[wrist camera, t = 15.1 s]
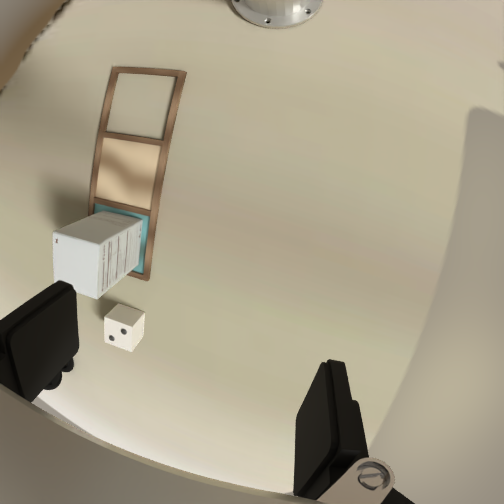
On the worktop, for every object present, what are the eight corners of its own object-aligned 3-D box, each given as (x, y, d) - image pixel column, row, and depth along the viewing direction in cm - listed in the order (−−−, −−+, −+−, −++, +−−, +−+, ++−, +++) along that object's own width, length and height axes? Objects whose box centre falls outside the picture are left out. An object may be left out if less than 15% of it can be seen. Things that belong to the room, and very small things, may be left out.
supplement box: (100, 254, 47) (52, 284, 35) (103, 209, 45) (50, 229, 33) (140, 265, 47) (97, 301, 35) (145, 219, 44) (98, 243, 32)
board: (115, 67, 38) (113, 66, 37) (186, 72, 38) (184, 71, 37) (88, 259, 48) (85, 261, 47) (149, 279, 48) (147, 281, 47)
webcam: (42, 347, 57) (16, 371, 47) (56, 334, 55) (28, 360, 45) (65, 374, 58) (42, 401, 49) (80, 363, 56) (55, 392, 47)
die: (117, 302, 50) (103, 316, 45) (145, 311, 50) (131, 327, 45) (117, 326, 52) (103, 342, 47) (143, 336, 51) (131, 352, 46)
